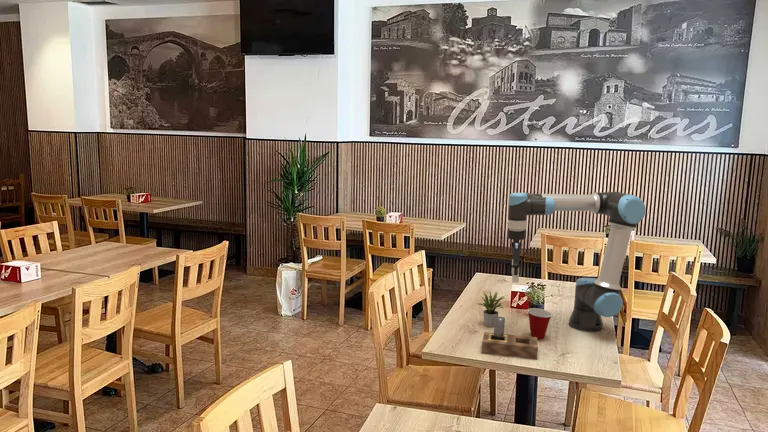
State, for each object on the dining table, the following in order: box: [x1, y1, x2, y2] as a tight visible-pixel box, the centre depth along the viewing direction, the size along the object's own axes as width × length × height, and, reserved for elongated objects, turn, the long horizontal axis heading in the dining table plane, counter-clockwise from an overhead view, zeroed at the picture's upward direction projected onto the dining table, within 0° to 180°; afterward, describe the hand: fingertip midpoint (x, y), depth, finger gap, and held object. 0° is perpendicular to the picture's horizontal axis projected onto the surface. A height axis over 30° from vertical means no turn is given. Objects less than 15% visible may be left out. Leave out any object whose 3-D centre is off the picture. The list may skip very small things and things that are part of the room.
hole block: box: [481, 331, 539, 360], centre depth 249 cm, size 22×12×5 cm, turn 77°
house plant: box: [477, 291, 508, 328], centre depth 278 cm, size 14×14×16 cm
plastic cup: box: [527, 307, 553, 341], centre depth 265 cm, size 11×11×12 cm
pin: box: [493, 316, 506, 341], centre depth 250 cm, size 4×4×13 cm
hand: (515, 278), depth 258 cm, fingers open, 13 cm apart
